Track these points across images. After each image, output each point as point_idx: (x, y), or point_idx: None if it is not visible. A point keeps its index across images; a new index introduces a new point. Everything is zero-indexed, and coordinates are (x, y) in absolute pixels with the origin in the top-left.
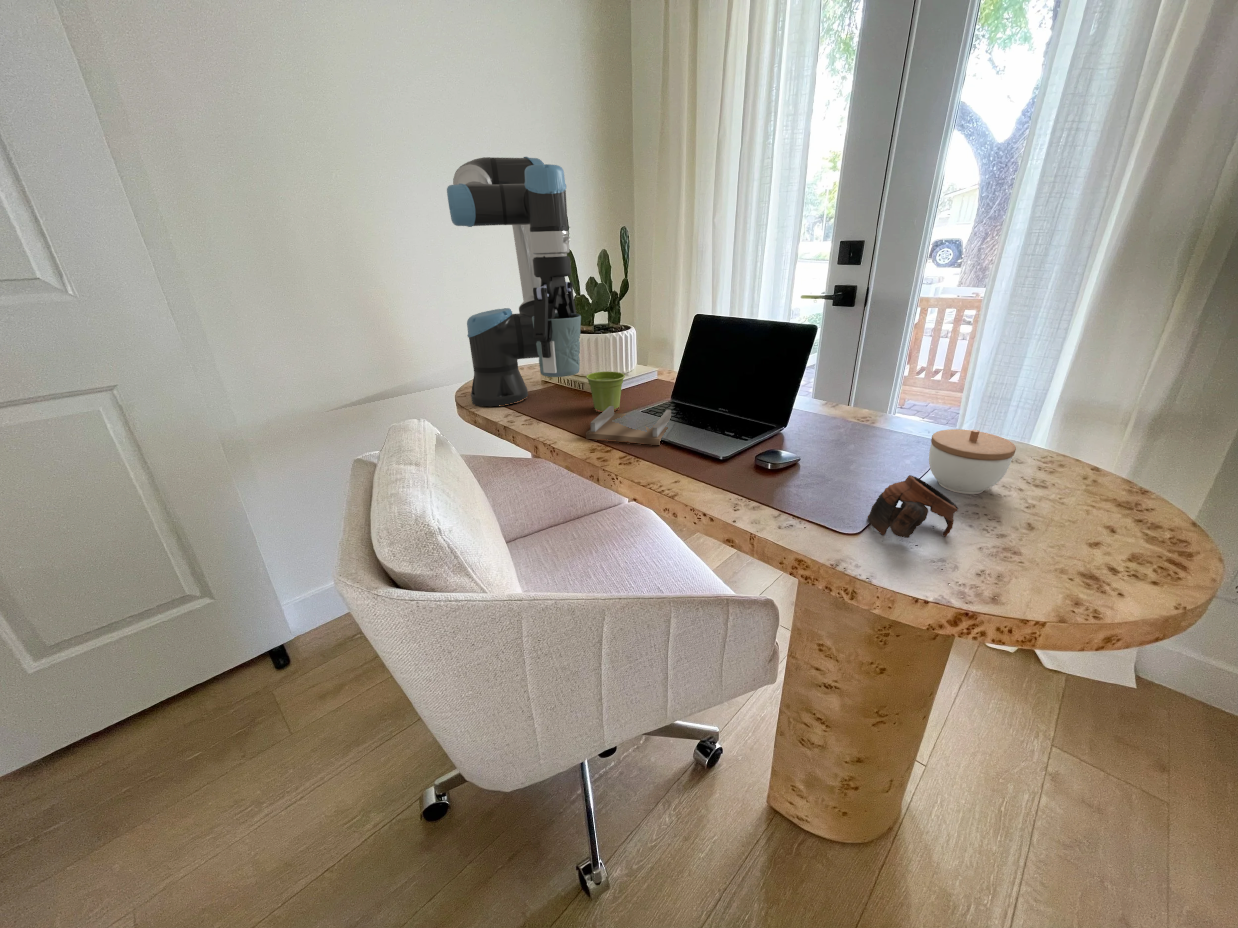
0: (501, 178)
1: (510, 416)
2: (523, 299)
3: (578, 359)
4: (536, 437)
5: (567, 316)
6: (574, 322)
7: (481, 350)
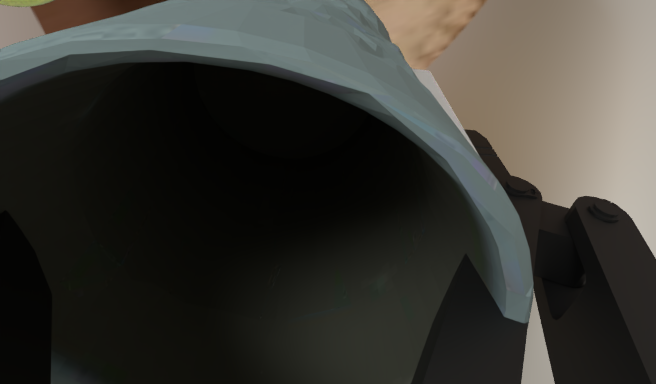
0: None
1: None
2: None
3: None
4: (419, 63)
5: (7, 271)
6: (360, 56)
7: None
